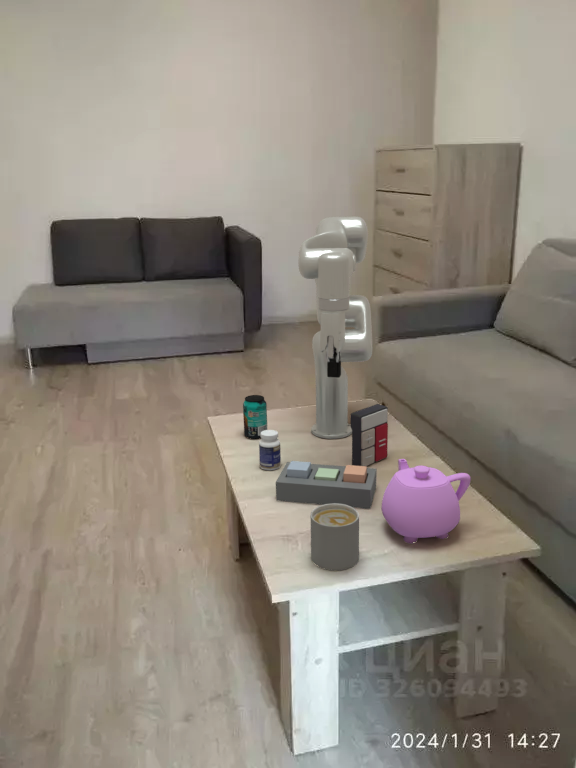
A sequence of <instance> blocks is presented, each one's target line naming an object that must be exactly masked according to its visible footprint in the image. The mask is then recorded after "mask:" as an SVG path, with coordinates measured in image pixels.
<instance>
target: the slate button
mask: <svg viewBox="0 0 576 768" xmlns="http://www.w3.org/2000/svg"><path fill="white" fill-rule="evenodd" d="M290 462H291V463H290V464H289V466H288V468H287V477H290V478H303V479H308V478H309V476H310V474H311V464H312V462H311V461H301V460H300V461H297V460H290Z"/></svg>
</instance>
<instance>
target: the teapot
mask: <svg viewBox="0 0 576 768" xmlns="http://www.w3.org/2000/svg"><path fill="white" fill-rule="evenodd" d="M397 462H398V466H397V467H398V470H397V471H396V472H395V473H394V474H393V476H392V477H391V479H390V480H389V482H388V484H387V486H386V488H385V490H384V492H383V497H382V500H381V507H380V508H381V513H382V516H383V517H384V519H385V521H386V522H387V524H388V525H389V527H390V528H391V529H392V530H393V531H394V532H395V533H397V534H398V535H399V536H403V542H404V541H405V543H406V544H414V543H413V542H416V541H417V542H418V539H420V538H422V539H424V538H438V539H439V538H440V540H445V539H444V538H446V539H448V538H449V537H450V536H449V532H451V531H453V530H454V529H455V527H456V526H457V525H458V524H459V523H460V520H461V507H460V503H459V501H460V500H461V499H462V498H463V497H464V495H465V493H466V492H467V490H468V488H469V487H470V483H471V479H472V477H471V476H470V474H468V473H467V472H458V473H455V474H451V475H445V474H444V473H443V471H441V470H439V469H437V468H435V467H430V466H429V467H428V466H426V465H416V466H414V467H409V464H408V461H407V460H406V459H405V458H399V459H398V461H397ZM457 481H459V486H458V488H457V490H456V491H455V490H454V488H453V486H452V483H453V482H457ZM435 536H436V537H435ZM448 536H449V537H448ZM447 537H448V538H447ZM417 542H416V543H417Z"/></svg>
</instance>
